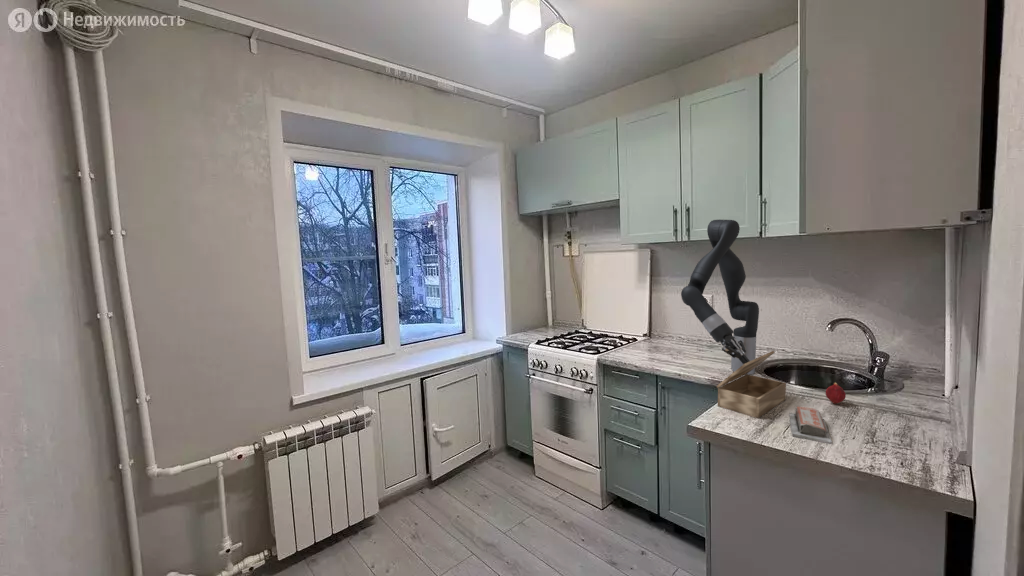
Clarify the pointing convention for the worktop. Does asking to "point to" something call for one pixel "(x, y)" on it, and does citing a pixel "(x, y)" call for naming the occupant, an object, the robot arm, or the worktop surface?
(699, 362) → the worktop surface
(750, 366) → the carton lid
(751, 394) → the carton
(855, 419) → the worktop surface
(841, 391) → the onion
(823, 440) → the packaged product
